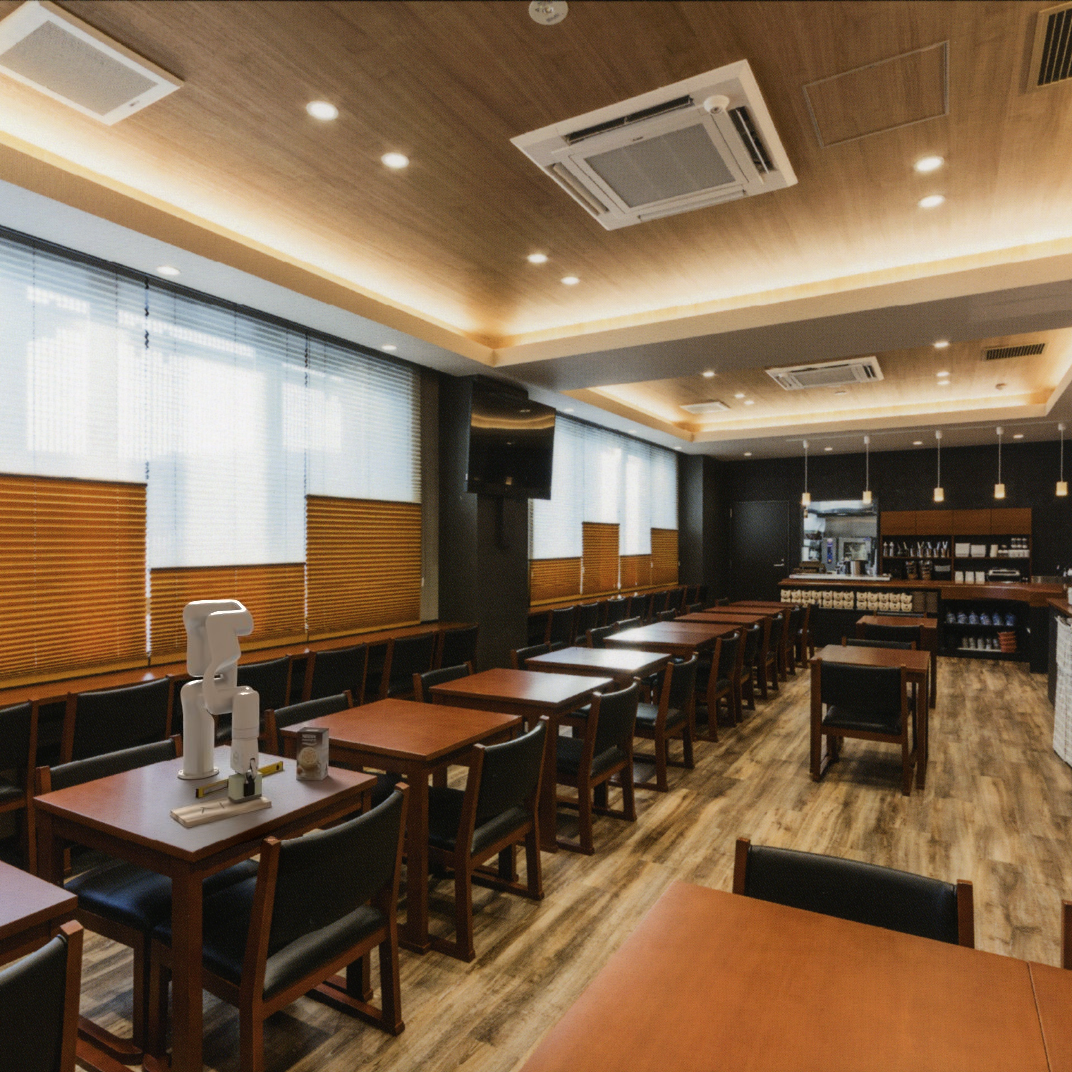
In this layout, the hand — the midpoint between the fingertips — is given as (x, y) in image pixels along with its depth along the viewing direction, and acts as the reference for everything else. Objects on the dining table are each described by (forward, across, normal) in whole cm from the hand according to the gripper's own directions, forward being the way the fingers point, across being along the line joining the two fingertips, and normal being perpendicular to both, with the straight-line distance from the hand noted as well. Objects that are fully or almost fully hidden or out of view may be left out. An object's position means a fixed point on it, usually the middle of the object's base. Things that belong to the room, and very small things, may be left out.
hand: (245, 793), depth 220 cm
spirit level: (+4, -21, +8) cm, 23 cm away
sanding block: (+2, 0, 0) cm, 2 cm away
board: (+3, 0, -7) cm, 8 cm away
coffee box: (+4, -10, +27) cm, 29 cm away
